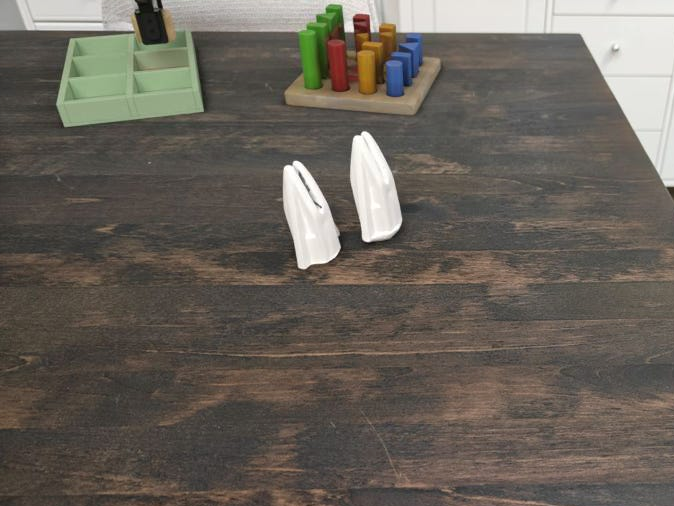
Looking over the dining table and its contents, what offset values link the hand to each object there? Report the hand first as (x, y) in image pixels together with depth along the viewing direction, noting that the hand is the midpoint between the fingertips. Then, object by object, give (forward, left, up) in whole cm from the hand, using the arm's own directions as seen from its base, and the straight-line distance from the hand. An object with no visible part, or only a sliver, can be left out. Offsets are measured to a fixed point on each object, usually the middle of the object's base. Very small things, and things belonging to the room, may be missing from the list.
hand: (155, 34), depth 98 cm
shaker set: (+16, -48, -7) cm, 51 cm away
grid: (-4, 0, -6) cm, 8 cm away
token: (0, 0, 0) cm, 0 cm away
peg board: (+26, -9, -7) cm, 28 cm away
